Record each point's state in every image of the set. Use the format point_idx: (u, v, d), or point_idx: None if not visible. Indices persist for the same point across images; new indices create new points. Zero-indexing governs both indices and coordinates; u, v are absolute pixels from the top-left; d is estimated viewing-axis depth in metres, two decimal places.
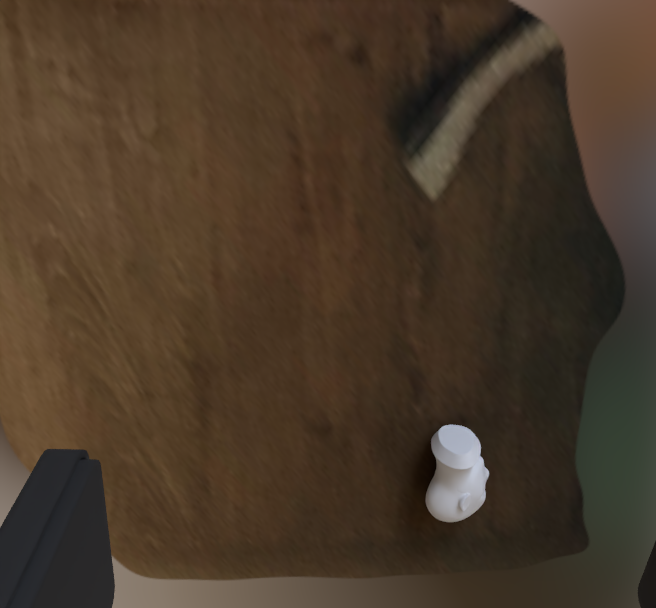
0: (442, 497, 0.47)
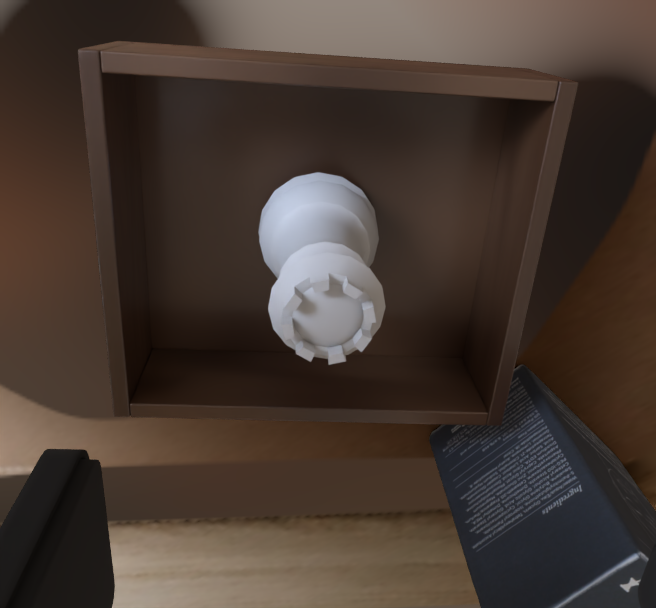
0: None
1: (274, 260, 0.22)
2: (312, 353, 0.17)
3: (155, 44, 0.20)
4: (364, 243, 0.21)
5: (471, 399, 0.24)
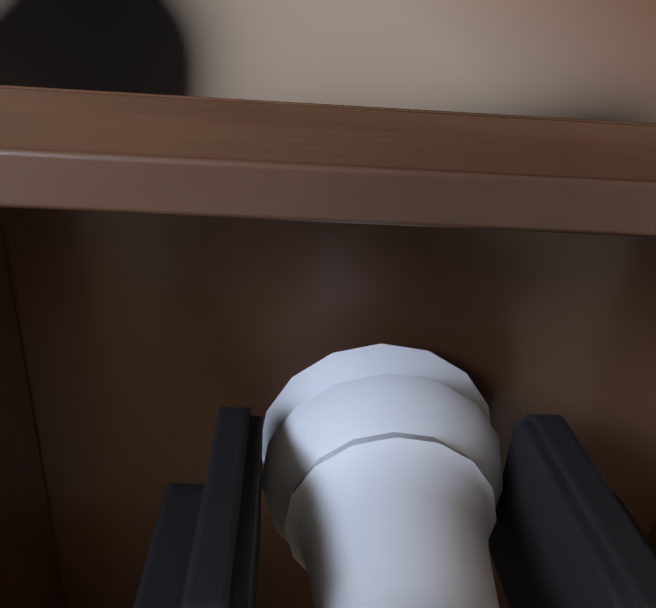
0: None
1: (293, 544, 0.10)
2: None
3: (27, 91, 0.09)
4: (487, 512, 0.10)
5: None
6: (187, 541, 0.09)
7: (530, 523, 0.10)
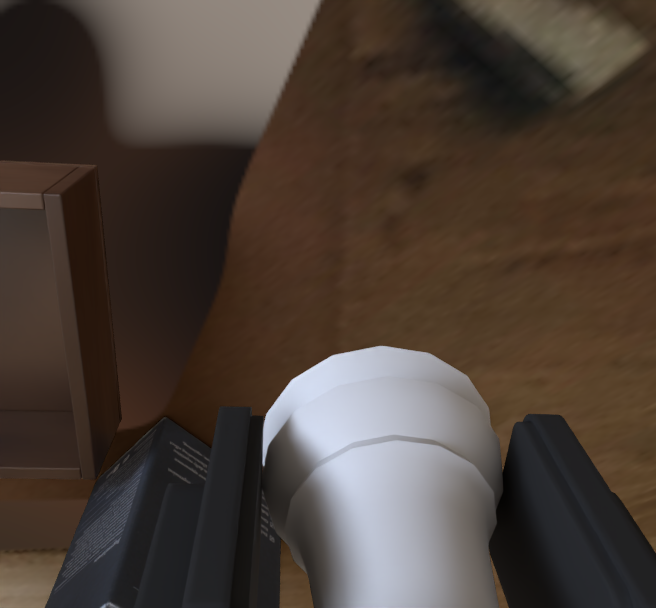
0: None
1: (293, 547, 0.10)
2: None
3: None
4: (488, 515, 0.10)
5: (75, 455, 0.26)
6: (187, 541, 0.09)
7: (530, 523, 0.10)
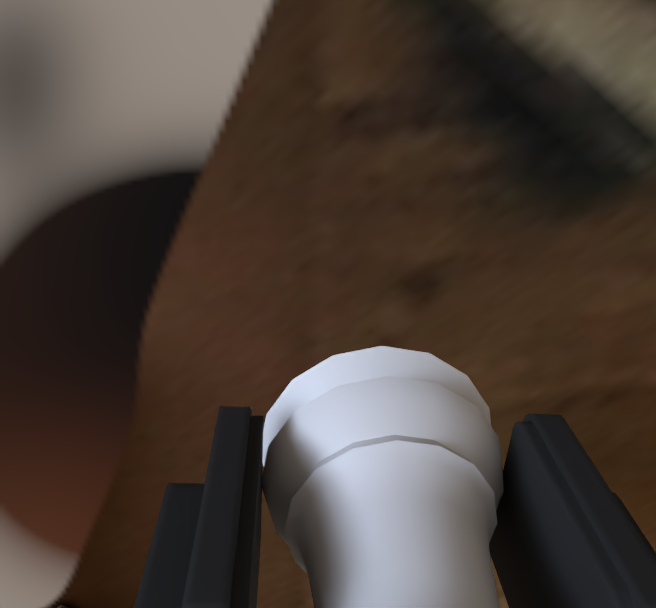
0: None
1: (293, 547, 0.10)
2: None
3: None
4: (488, 515, 0.10)
5: None
6: (187, 541, 0.09)
7: (529, 523, 0.10)
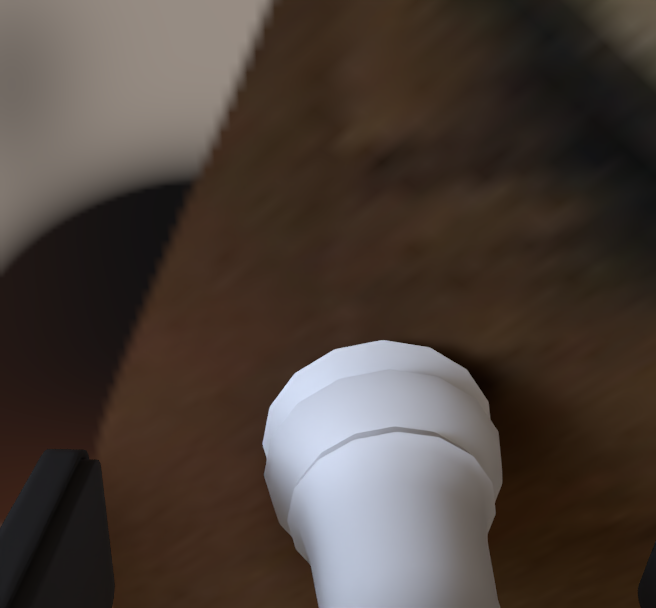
0: None
1: (295, 537, 0.10)
2: None
3: None
4: (487, 506, 0.10)
5: None
6: None
7: None
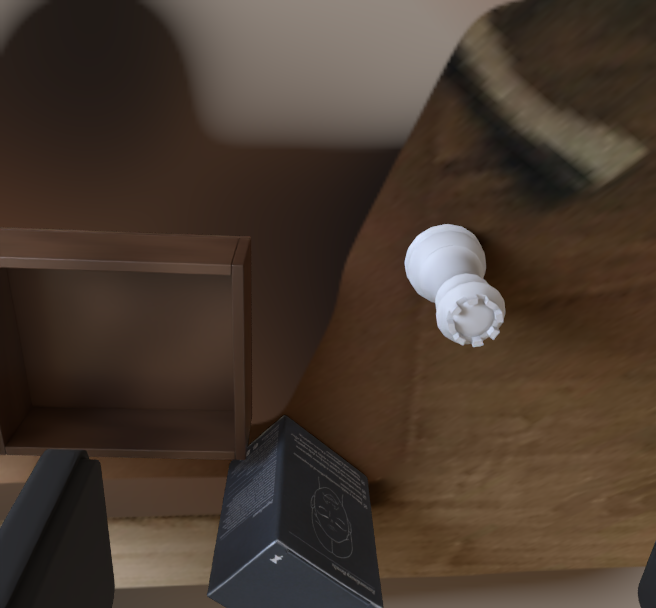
0: None
1: (421, 282, 0.33)
2: (464, 340, 0.29)
3: (12, 230, 0.34)
4: (480, 270, 0.33)
5: (229, 442, 0.37)
6: None
7: None
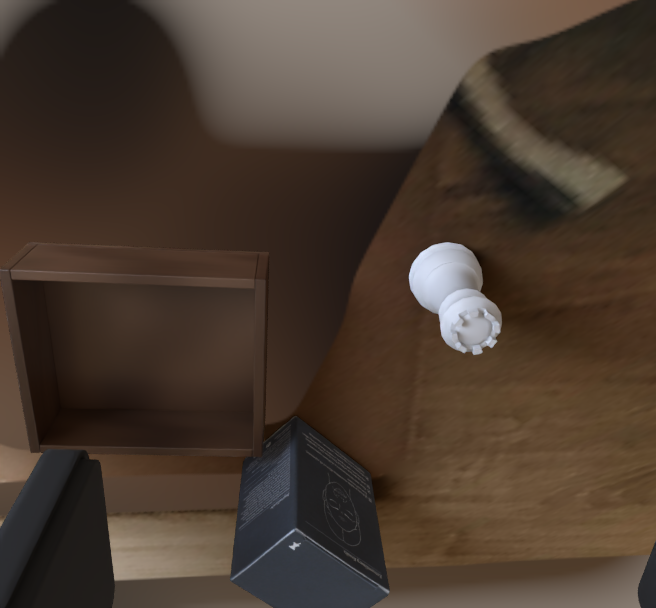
0: None
1: (424, 295, 0.37)
2: (465, 348, 0.32)
3: (49, 245, 0.37)
4: (478, 285, 0.37)
5: (246, 441, 0.40)
6: None
7: None
